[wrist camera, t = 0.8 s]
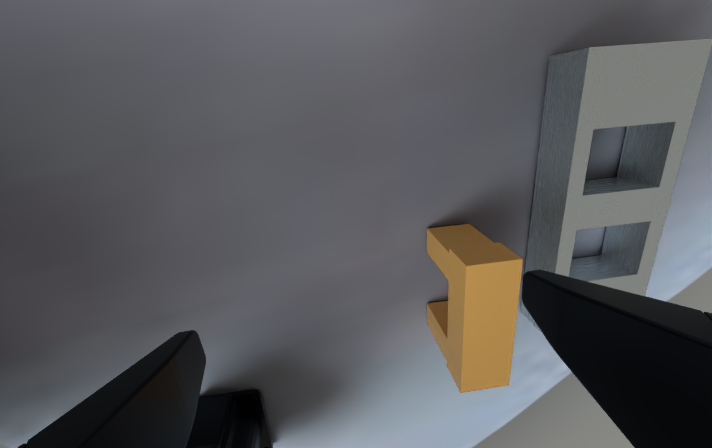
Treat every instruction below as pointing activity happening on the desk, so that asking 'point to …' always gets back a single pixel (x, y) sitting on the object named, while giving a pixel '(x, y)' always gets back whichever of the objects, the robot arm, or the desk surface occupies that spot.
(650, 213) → the rail
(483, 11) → the desk surface
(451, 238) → the clip
